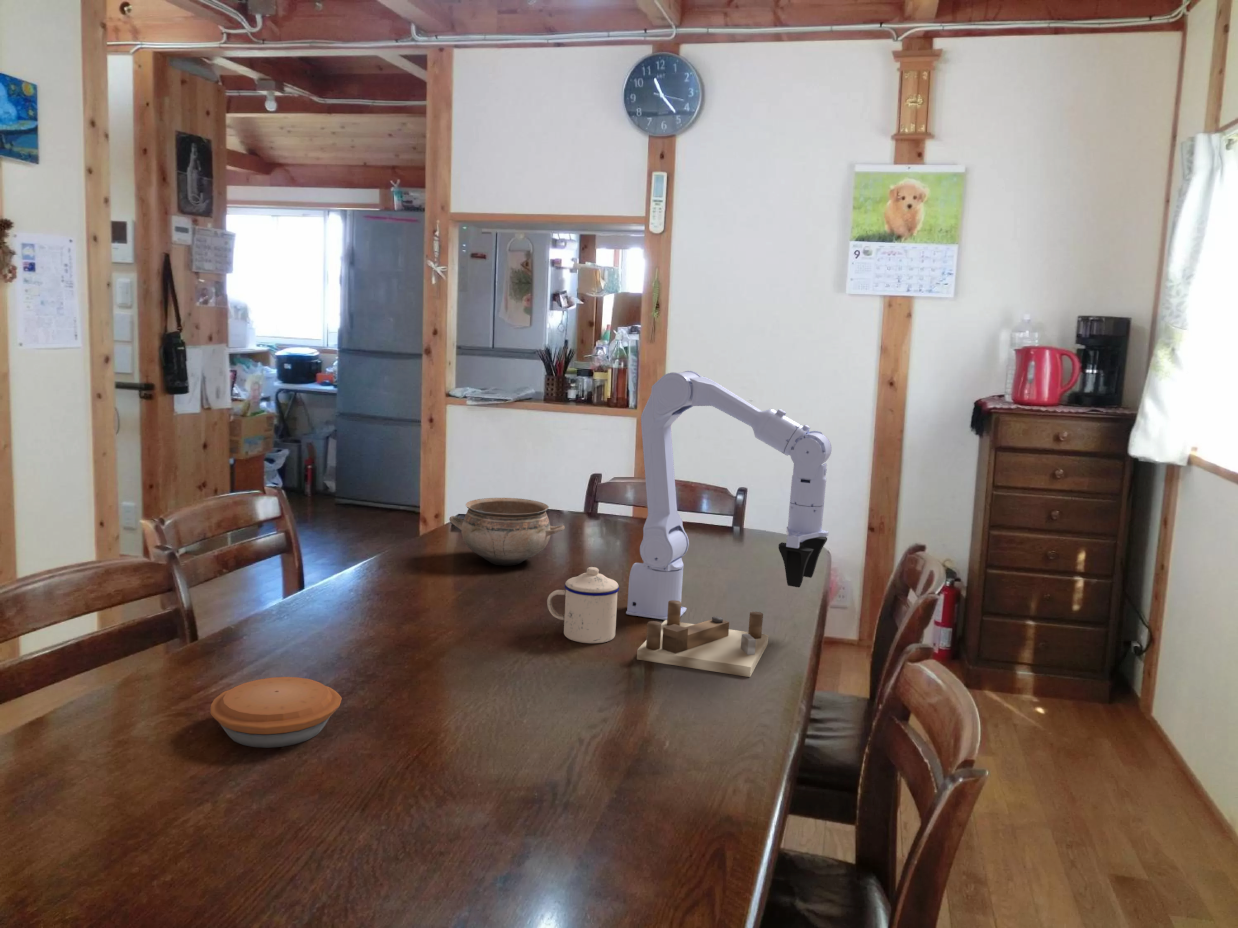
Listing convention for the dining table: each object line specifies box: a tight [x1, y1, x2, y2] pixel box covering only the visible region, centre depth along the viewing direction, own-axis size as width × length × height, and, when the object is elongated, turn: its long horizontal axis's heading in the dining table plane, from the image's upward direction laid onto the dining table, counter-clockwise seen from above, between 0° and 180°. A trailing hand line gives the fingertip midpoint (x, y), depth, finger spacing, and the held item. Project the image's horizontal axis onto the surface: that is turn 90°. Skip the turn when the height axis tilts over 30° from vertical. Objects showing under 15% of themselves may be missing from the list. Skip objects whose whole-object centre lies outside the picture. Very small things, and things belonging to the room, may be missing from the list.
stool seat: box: [636, 600, 770, 678], centre depth 163 cm, size 18×17×6 cm
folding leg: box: [662, 615, 730, 653], centre depth 163 cm, size 14×3×4 cm, turn 137°
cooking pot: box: [449, 497, 566, 566], centre depth 214 cm, size 25×19×12 cm
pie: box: [210, 676, 342, 749], centre depth 126 cm, size 15×16×5 cm
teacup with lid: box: [546, 566, 620, 644], centre depth 168 cm, size 12×9×12 cm
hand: (800, 581), depth 172 cm, fingers open, 7 cm apart
